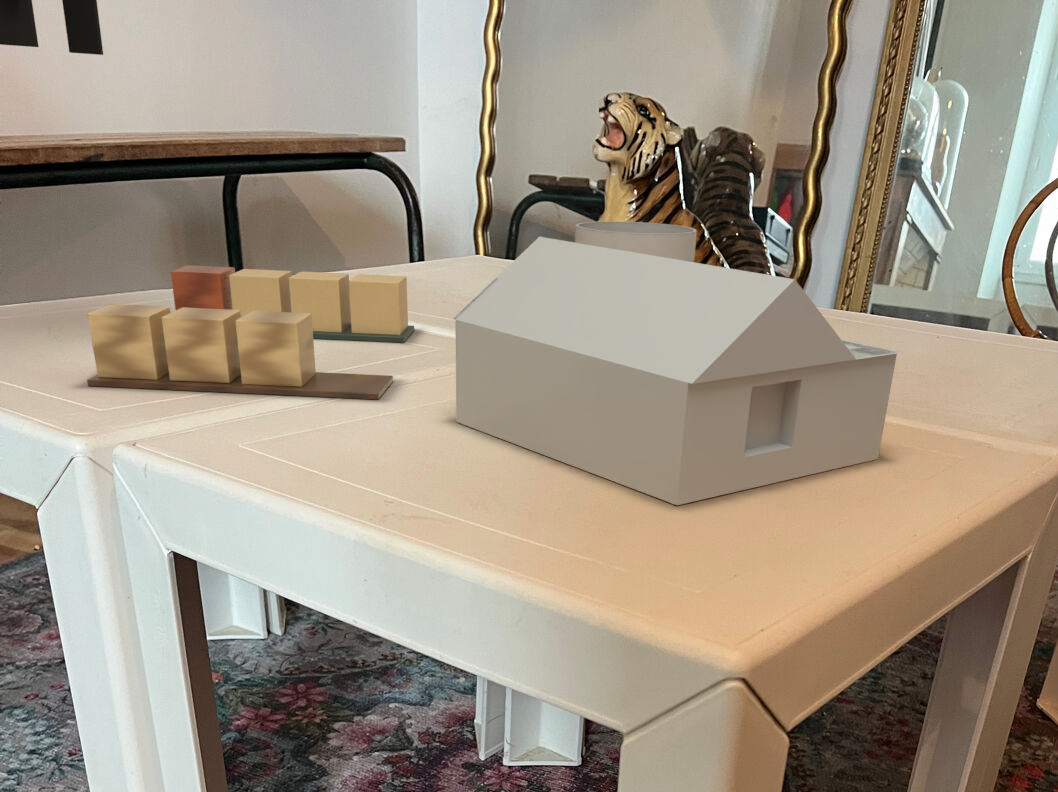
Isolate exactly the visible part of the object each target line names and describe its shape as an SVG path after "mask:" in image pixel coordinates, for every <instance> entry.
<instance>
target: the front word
mask: <svg viewBox="0 0 1058 792" xmlns="http://www.w3.org/2000/svg"><path fill="white" fill-rule="evenodd" d="M87 321H88V325H89V331H90V337H91V343H92V350H93V355H94V362H95V363H94V364H95V369H96V375H94V376H91V377H90V378H88V379H87V380H86V382H87V386H88V387H99V388H101V387H102V388H125V389H145V390H164V391H165V390H167V391H191V392H209V393H210V392H211V393H227V394H229V393H231V394H251V395H271V396H272V395H273V396H293V397H294V396H295V397H313V398H315V397H317V398H334V399H335V398H337V399H338V398H340V399H358V400H379V399H381V398H382V396H383V394H384V393H385V392H386V391H387V389H388V388H389V387H390V386H391V385H392V383H393V382H394V375H388V374H387V375H385V374H384V375H383V374H362V373H342V372H322V371H321V372H320V371H319V372H318V371H316V359H315V344H314V343H315V341H314V338H313V328H312V314H311V313H295V312H273V311H251V312H250V313H248V314H246V315H244V316H243V317H241V311H240V310H228V309H206V308H184V307H182V308H180V309H178V310H176V309H175V310H174V311H172V312H171V306H160V305H142V304H141V305H140V304H118V303H111V304H109V305H105V306H103V307H101V308H99V309H95V310H93V311H91V312H88V313H87Z"/></svg>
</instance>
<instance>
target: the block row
mask: <svg viewBox="0 0 1058 792" xmlns="http://www.w3.org/2000/svg"><path fill="white" fill-rule="evenodd" d="M407 278H408V277H407V275H390V274H389V275H388V274H386V275H385V274H368V273H367V274H366V273H358V274H356V275H355V276H353V277H352V278H351V279H350V274H349V273H344V272H343V273H342V272H323V271H322V272H320V271H300V272H297V273H295V274H293V275H292V270H280V269H279V270H277V269H276V270H275V269H256V268H255V269H254V268H243V269H240V270H238V271H235V273H233V274H231V275H229V279H230V288H231V298H232V308H233V310H240V311H241V317H243V316H244V315H246V314H248V313H250V312H251V311H273V312H295V313H311V314H312V328H313V339H315V340H316V339H318V340H319V339H320V340H336V341H337V340H338V341H339V340H341V341H358V342H359V341H361V342H381V343H383V342H385V343H401V344H402V343H403V344H404V343H405V342H406V341H407V339H408V338H409V337H410V336H411V335H412V334H413V333H414V332H415V325H409V312H408V309H409V308H408V281H407Z"/></svg>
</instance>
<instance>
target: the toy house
mask: <svg viewBox="0 0 1058 792" xmlns="http://www.w3.org/2000/svg"><path fill="white" fill-rule="evenodd" d="M452 320H454V321H455V323H454V325H455V414H456V415H455V417H456V418H455V419H456V421H455V422H456V423H458V424H461V425H464V426H467V427H469V428H472V429H474V430H477V431H479V432H482V433H485V434H487V435H490V436H492V437H495V438H498V439H500V440H504V441H506V442H508V443H511V444H513V445H514V444H515V445H516V446H519V447H521V448H524V449H527V450H529V451H532V452H535V453H537V454H540V455H543V456H546V457H548V458H551V459H554V460H556V461H558V462H562V463H563V464H566V465H569V466H572V467H573V468H577V469H579V470H582V471H585V472H587V473H590V474H592V475H595V476H598V477H601V478H603V479H607V480H609V481H611V482H613V483H617V484H620V485H622V486H624V487H628V488H630V489H633V490H636V491H638V492H640V493H643V494H646V495H648V496H651V497H654V498H656V499H659V500H662V501H664V502H666V503H669V504H672V505H675V506H681V505H685V504H691V503H693V502H698V501H702V500H707V499H711V498H715V497H720V496H724V495H728V494H732V493H737V492H741V491H746V490H751V489H754V488H759V487H762V486H763V487H764V486H768V485H772V484H777V483H780V482H784V481H789V480H794V479H797V478H802V477H806V476H811V475H814V474H819V473H823V472H828V471H833V470H836V469H840V468H845V467H849V466H855V465H858V464H863V463H867V462H870V461H875V460H879V455H880V451H881V445H882V439H883V434H884V429H885V428H884V427H885V423H886V416H887V411H888V406H889V399H890V394H891V389H892V384H893V378H894V374H895V373H894V372H895V367H896V366H895V365H896V362H897V361H896V360H897V355H898V354H902V353H903V354H904V351H901V350H896V349H892V348H887V347H882V346H877V345H873V344H867V343H863V342H860V341H859V342H858V341H853V340H848V339H844V338H841V337H840V336H839V335H838V333H837V332H836V331H835V330H834V328H833V327H832V326H831V324H830V323H829V322H828V320H827V319H826V318H825V317H824V315H823V314H822V312H821V311H820V310H819V309H818V307H817V306H816V305H815V304H814V302H813V301H812V300H811V298H810V297H809V296H808V294H807V293H806V292H805V291H804V289H803V288H802V287H801V285H800V283H798V282H797V280H796V279H795V278H789V277H783V276H777V275H771V274H765V273H759V272H754V271H753V272H752V271H748V270H742V269H736V268H730V267H724V266H718V265H711V264H705V263H702V262H701V263H700V262H695V261H694V262H689V261H683V260H677V259H671V258H665V257H659V256H653V255H647V254H641V253H635V252H629V251H623V250H617V249H611V248H605V247H599V246H593V245H587V244H581V243H575V241H570V240H568V241H567V240H562V239H556V238H551V237H545V236H538V237H537V238H536V239H535V240H534V241H533V242H532V243H531V244H530V245H529V246H528V247H527V248H526V249H524V250H523V252H522V253H521V254H519V255H518V257H516V258H515V259H514V260H513V261H512V262H510V264H509V265H508V266H507V267H506V268H505V269H503V270H502V272H500V273H499V274H498V275H497V276H496V277H495V278H494V279H493V280H492V281H491V282H490V283H489V284H488V285H487V286H485V288H483V290H482V291H480V292H479V294H478V295H476V296H475V297H474V298H473V299H472V300H471V301H470V302H469V303H468V304H467V305H466V306H464V308H462V309H461V311H459V312H458V313H457V315H455V316H454V317H453V318H452Z"/></svg>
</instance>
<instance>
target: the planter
mask: <svg viewBox="0 0 1058 792" xmlns="http://www.w3.org/2000/svg"><path fill="white" fill-rule="evenodd" d="M574 227H575V228H574V229H575V230H574V242H575V243H581V244H587V245H593V246H599V247H605V248H611V249H617V250H623V251H629V252H635V253H641V254H647V255H653V256H659V257H665V258H671V259H677V260H683V261H689V262H695V256H696V255H695V254H696V244H697V232H698V231H697V229H696V228H693V227H689V226H684V225H679V224H678V225H677V224H670V223H669V224H668V223H657V222H644V221H643V222H642V221H618V220H617V221H608V220H607V221H605V220H604V221H585V222H579V223H576V224H575V226H574Z"/></svg>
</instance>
